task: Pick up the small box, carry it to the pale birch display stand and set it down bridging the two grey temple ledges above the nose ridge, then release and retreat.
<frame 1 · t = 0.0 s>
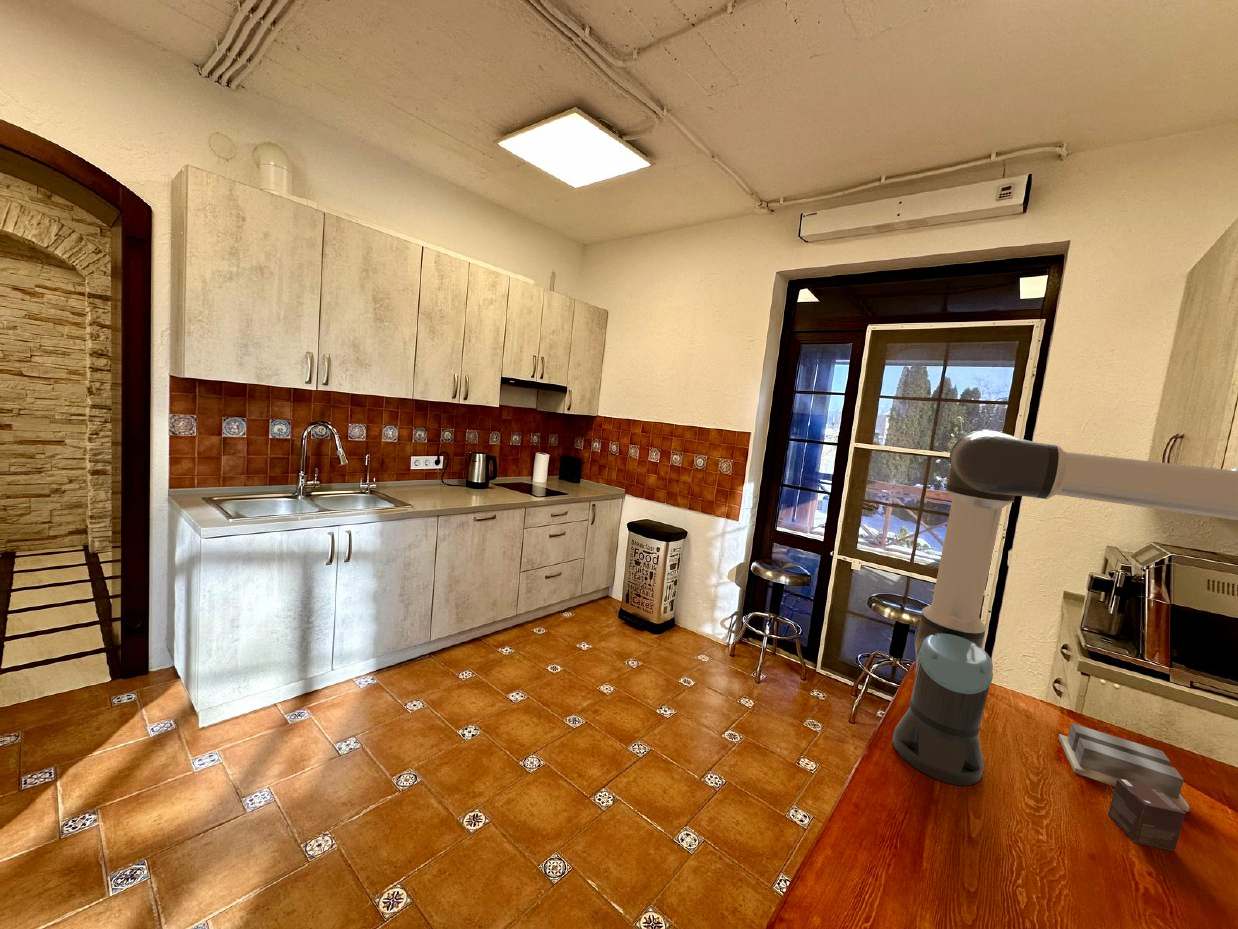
box: (1139, 833, 86), on the table
stand: (1117, 771, 101), on the table
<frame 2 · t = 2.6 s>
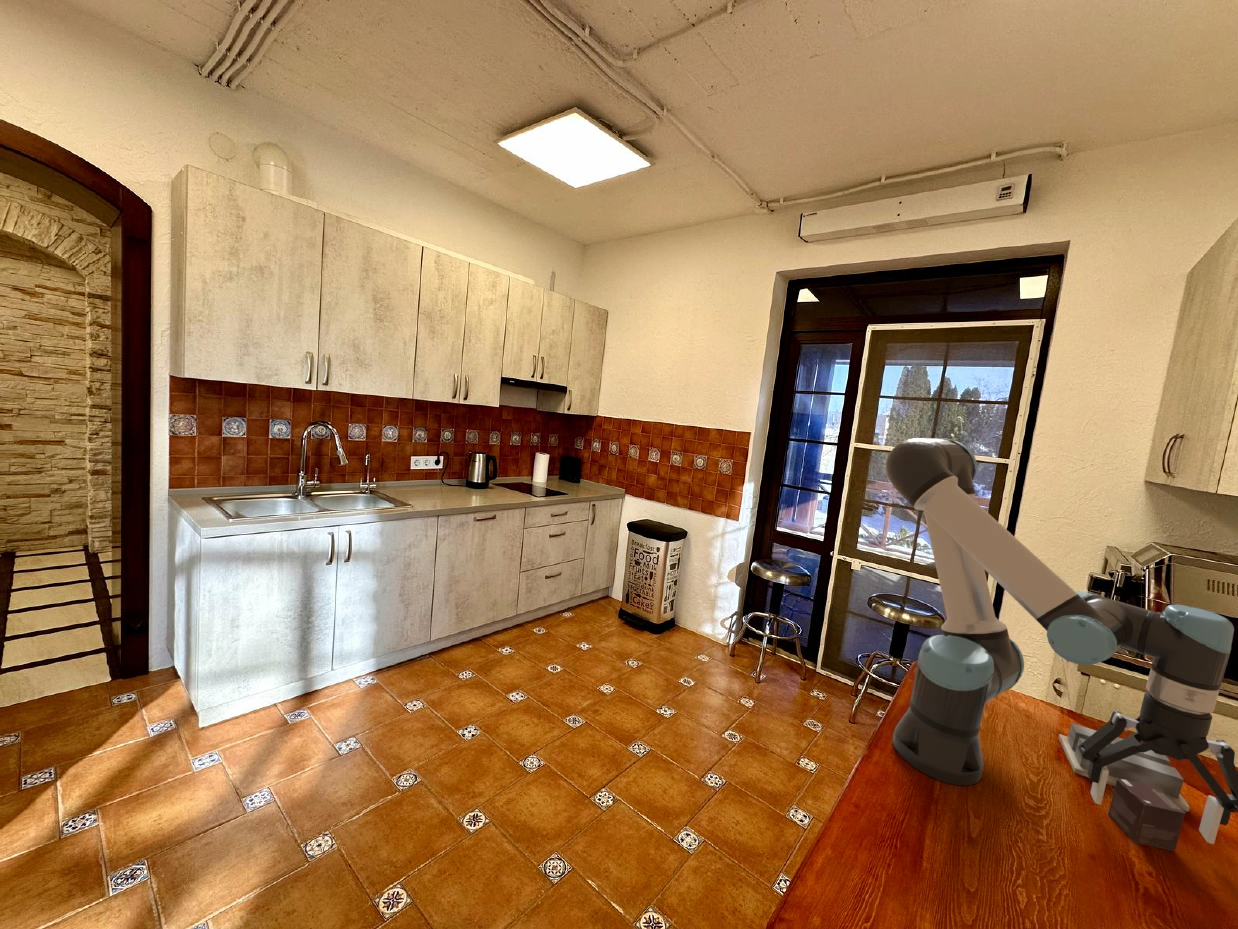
hand: (1148, 817, 85), 3 cm above the table, fingers open, 13 cm apart
nothing on the table moved.
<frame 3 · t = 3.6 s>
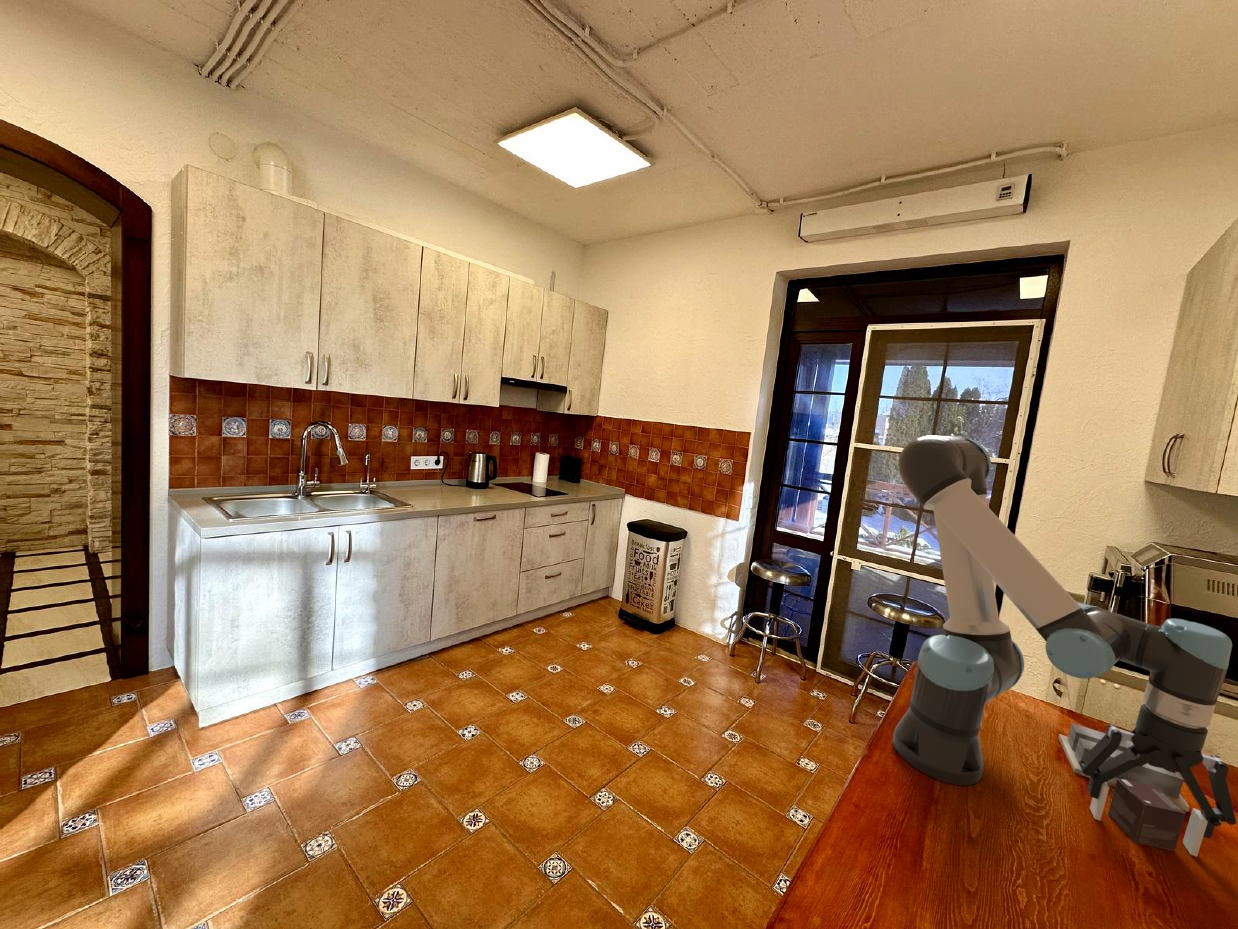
hand: (1140, 831, 86), 0 cm above the table, fingers open, 11 cm apart
nothing on the table moved.
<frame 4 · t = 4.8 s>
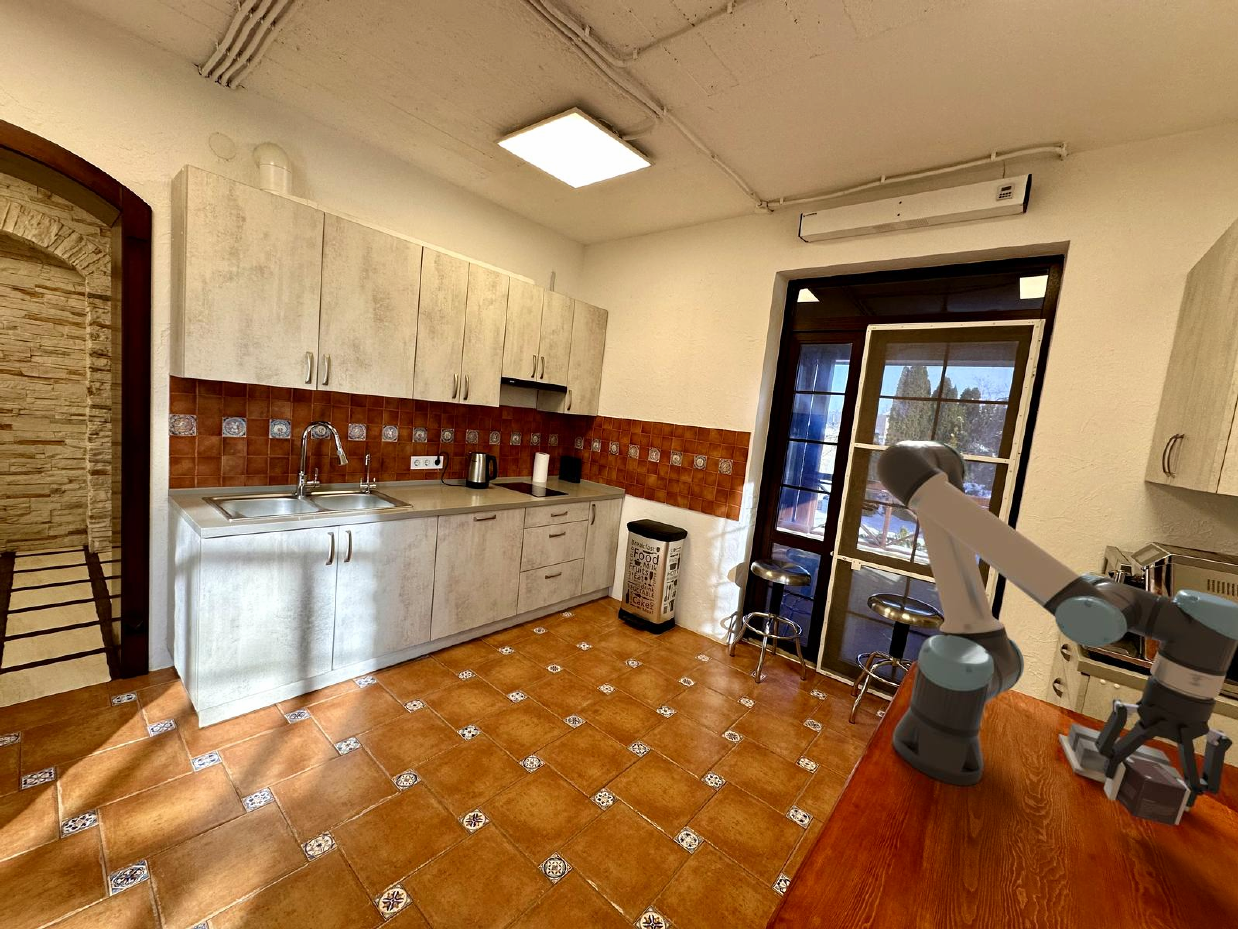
hand: (1139, 806, 86), 4 cm above the table, fingers closed on box, 7 cm apart
box: (1138, 809, 86), point 4 cm above the table, touching gripper
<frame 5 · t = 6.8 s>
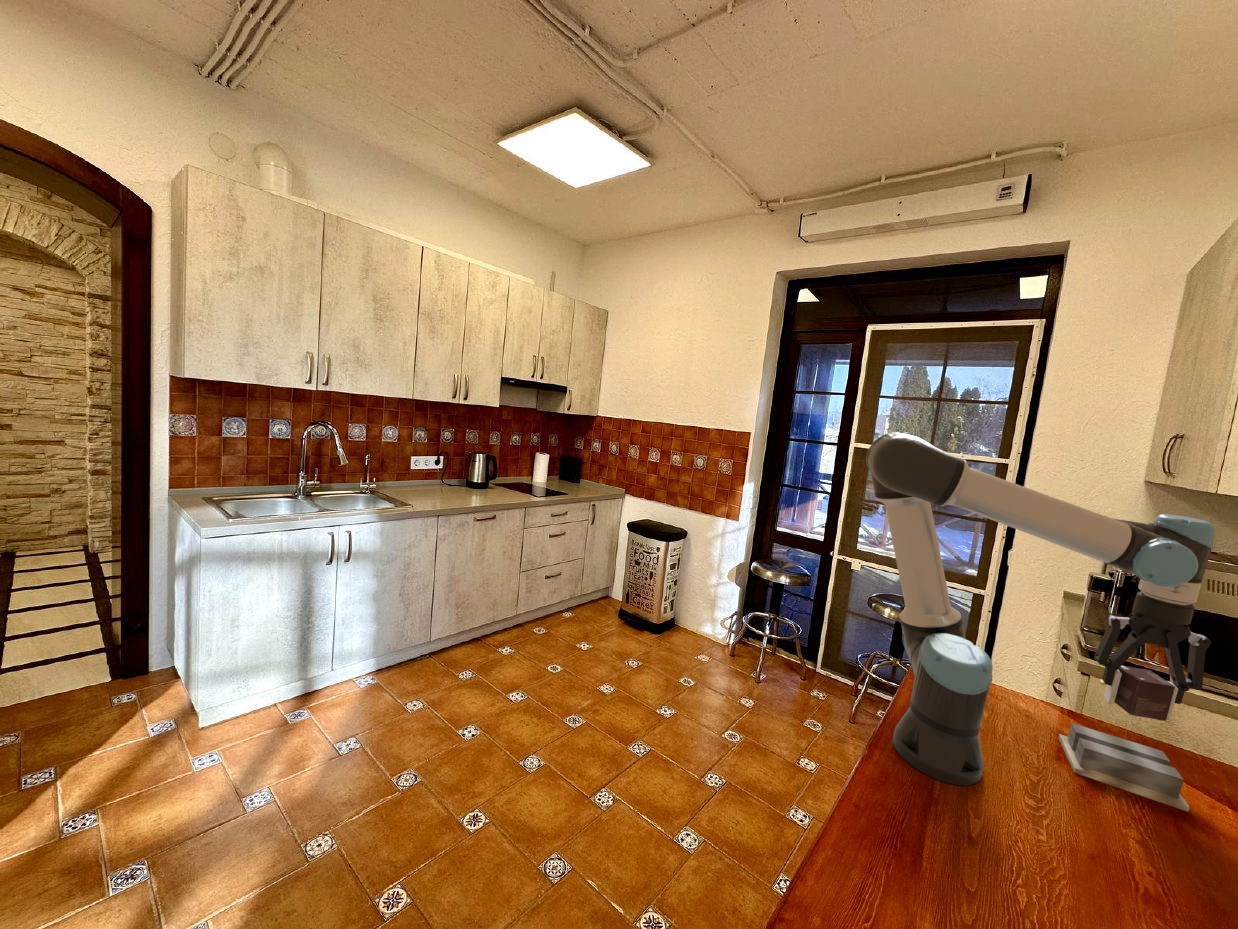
hand: (1135, 707, 98), 14 cm above the table, fingers closed on box, 7 cm apart
box: (1135, 710, 98), point 14 cm above the table, touching gripper
when the fingers open (6 cm above the table, at t = 9.0 s): box stays where it is, resting on stand.
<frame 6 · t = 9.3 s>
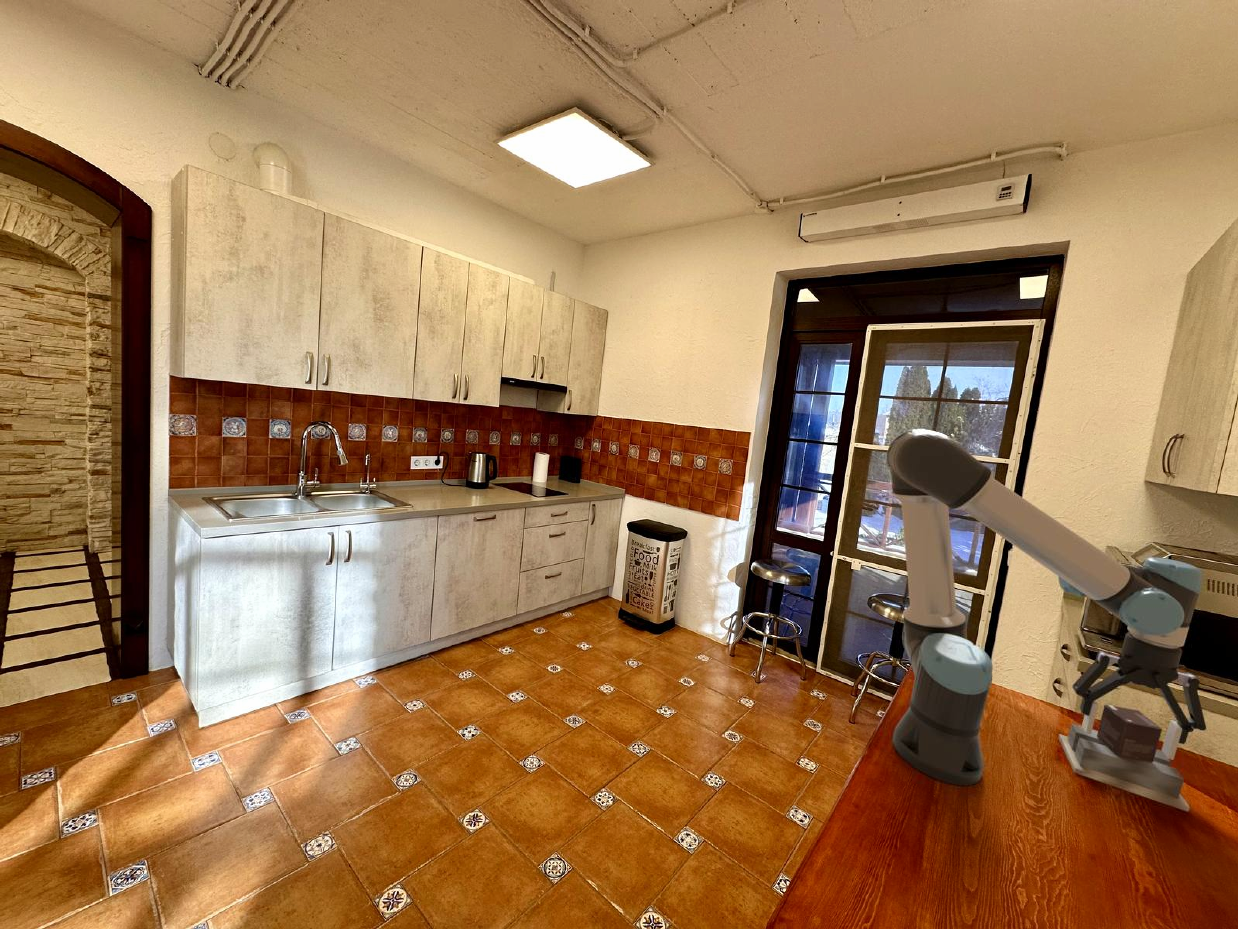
hand: (1125, 742, 99), 7 cm above the table, fingers open, 11 cm apart
box: (1123, 750, 100), point 5 cm above the table, touching stand
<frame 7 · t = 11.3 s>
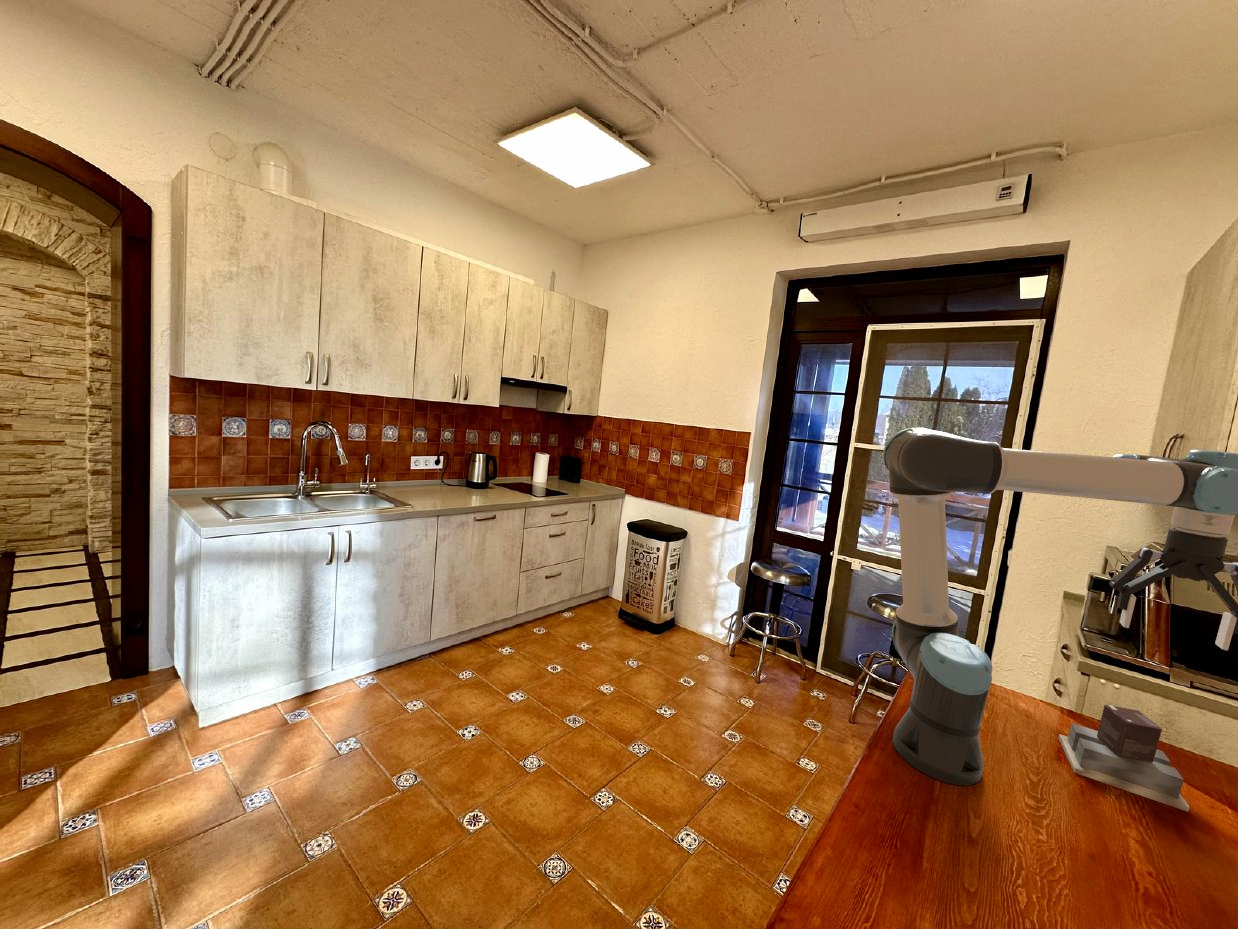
hand: (1170, 636, 99), 28 cm above the table, fingers open, 13 cm apart
nothing on the table moved.
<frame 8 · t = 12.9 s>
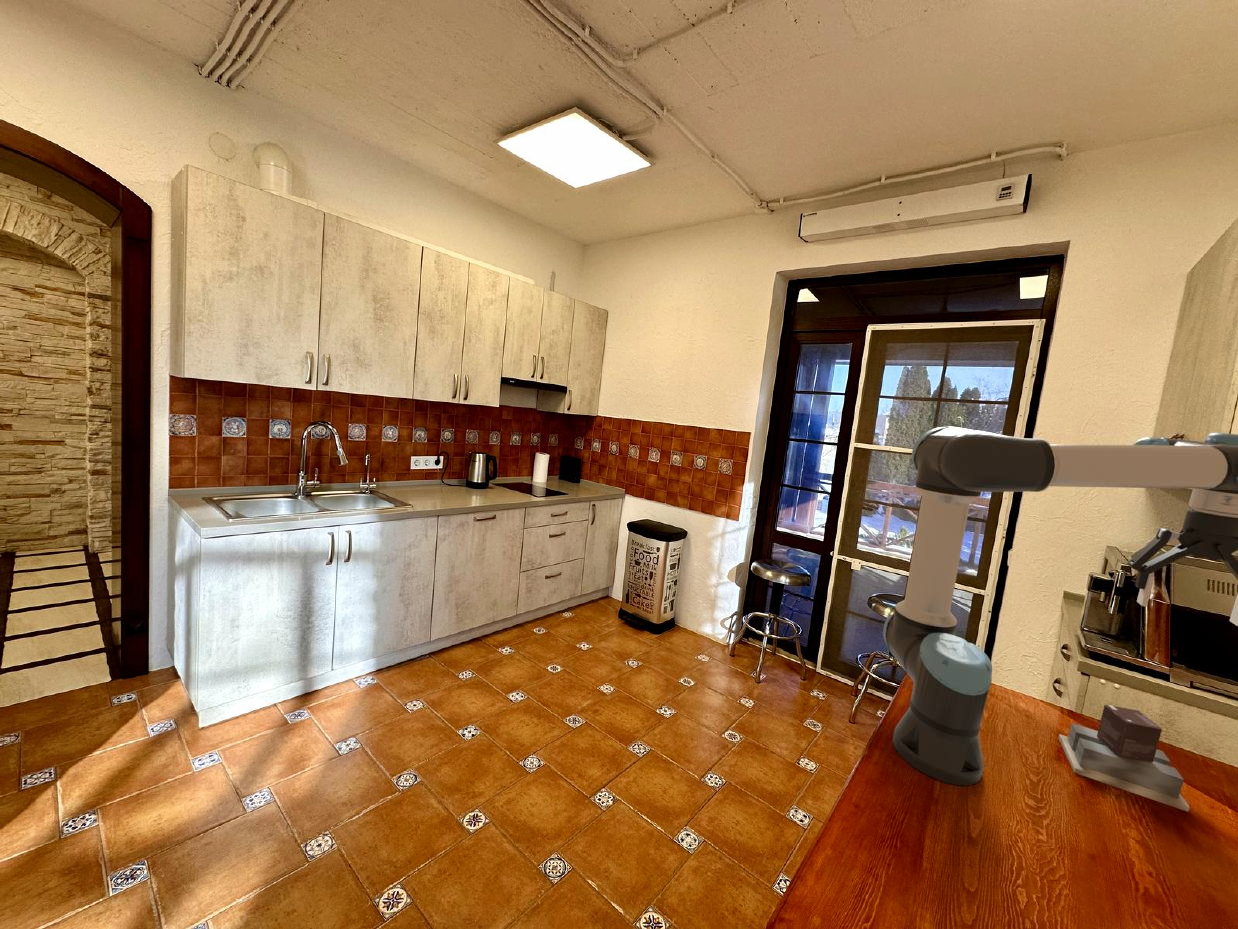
hand: (1187, 614, 102), 32 cm above the table, fingers open, 13 cm apart
nothing on the table moved.
at the end: box inside the target area on the stand (0.1 cm from its centre), point 4.8 cm above the stand's base; box tilted 0°; the gripper is holding nothing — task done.
